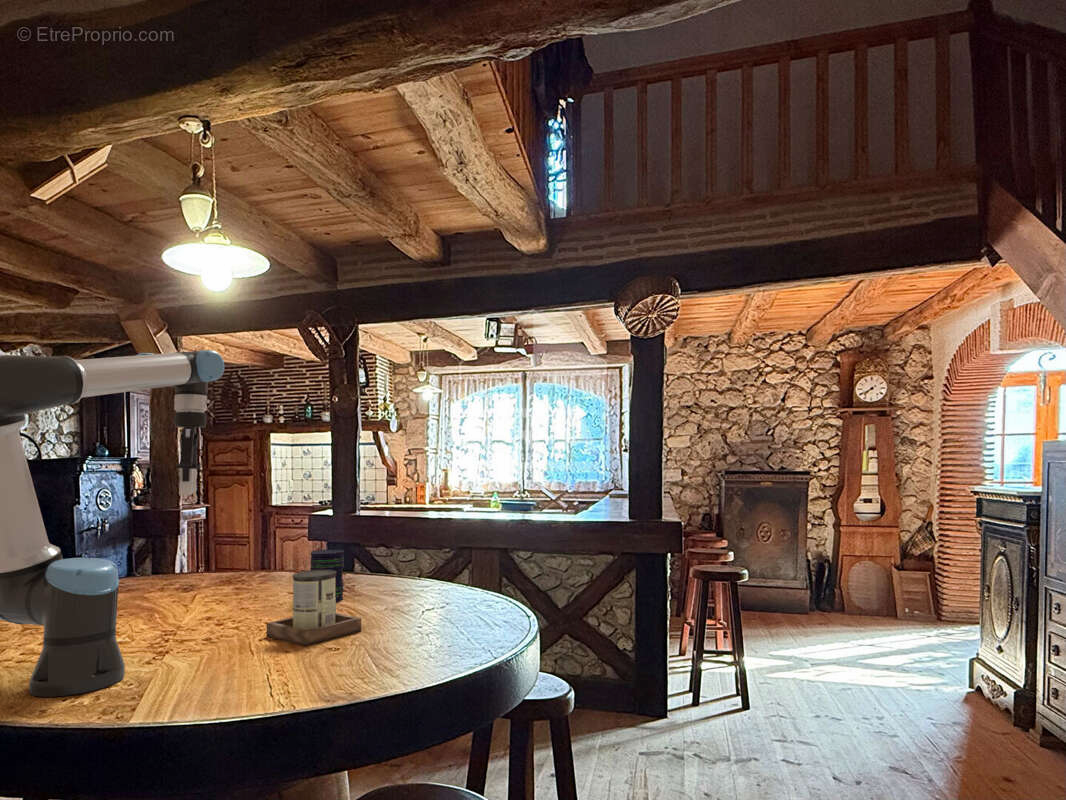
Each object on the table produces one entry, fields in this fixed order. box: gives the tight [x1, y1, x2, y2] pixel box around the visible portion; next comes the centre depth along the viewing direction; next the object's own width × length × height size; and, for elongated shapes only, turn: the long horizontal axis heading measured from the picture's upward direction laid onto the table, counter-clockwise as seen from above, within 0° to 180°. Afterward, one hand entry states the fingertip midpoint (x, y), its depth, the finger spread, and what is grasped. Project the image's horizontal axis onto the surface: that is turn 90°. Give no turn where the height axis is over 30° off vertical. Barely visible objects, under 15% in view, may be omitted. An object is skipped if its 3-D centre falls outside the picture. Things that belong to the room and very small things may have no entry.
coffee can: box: [292, 569, 337, 630], centre depth 160 cm, size 10×10×14 cm
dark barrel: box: [309, 548, 345, 603], centre depth 200 cm, size 10×10×15 cm
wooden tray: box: [266, 612, 362, 647], centre depth 160 cm, size 16×16×3 cm
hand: (187, 494), depth 167 cm, fingers open, 13 cm apart
